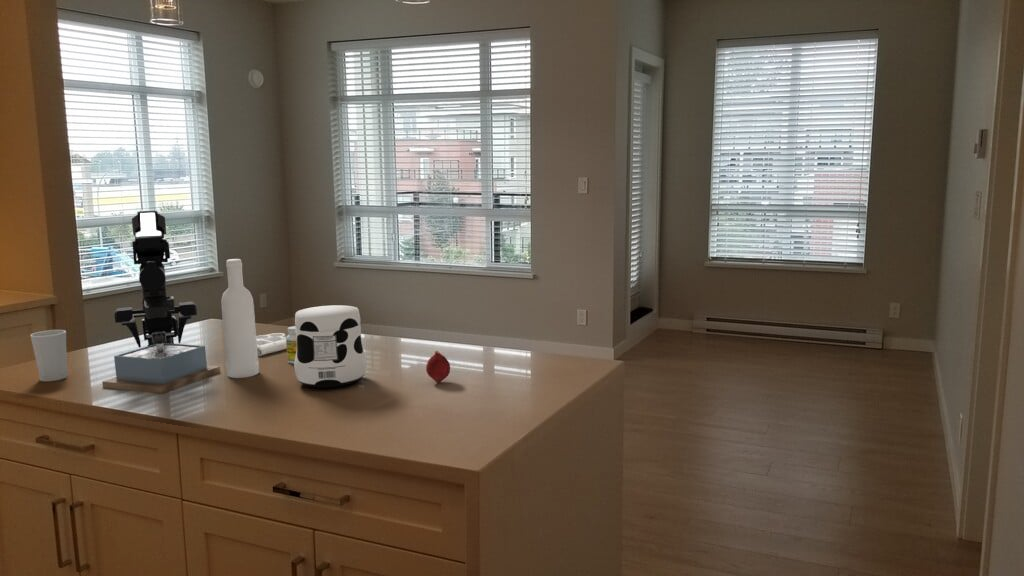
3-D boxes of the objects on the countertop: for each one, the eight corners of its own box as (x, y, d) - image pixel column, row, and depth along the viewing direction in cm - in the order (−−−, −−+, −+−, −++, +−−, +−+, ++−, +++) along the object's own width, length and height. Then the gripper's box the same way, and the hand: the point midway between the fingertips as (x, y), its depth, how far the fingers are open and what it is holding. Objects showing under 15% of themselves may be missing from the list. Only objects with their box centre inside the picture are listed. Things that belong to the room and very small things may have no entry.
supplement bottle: (311, 359, 218) (309, 325, 216) (301, 364, 213) (298, 329, 211) (294, 358, 220) (292, 324, 218) (283, 363, 215) (281, 329, 213)
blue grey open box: (156, 363, 212) (153, 342, 211) (207, 368, 206) (204, 345, 205) (109, 378, 198) (107, 355, 197) (163, 384, 192) (160, 360, 191)
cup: (55, 382, 201) (49, 336, 199) (28, 381, 203) (22, 336, 201) (78, 374, 209) (73, 330, 207) (52, 373, 210) (46, 329, 209)
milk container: (342, 369, 207) (338, 301, 204) (381, 381, 195) (377, 309, 192) (282, 383, 195) (277, 312, 192) (319, 397, 183) (314, 321, 180)
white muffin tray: (252, 360, 220) (220, 354, 228) (303, 347, 235) (271, 341, 243) (251, 348, 220) (219, 343, 228) (302, 336, 234) (270, 331, 242)
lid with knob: (160, 346, 208) (158, 326, 208) (198, 349, 204) (196, 329, 203) (121, 358, 197) (119, 336, 196) (160, 361, 192) (158, 339, 192)
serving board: (164, 366, 214) (163, 361, 214) (220, 371, 207) (219, 366, 207) (102, 387, 196) (102, 381, 196) (162, 393, 189) (161, 387, 189)
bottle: (221, 374, 205) (211, 260, 200) (249, 368, 210) (240, 256, 205) (237, 380, 199) (226, 262, 194) (265, 373, 205) (256, 259, 200)
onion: (454, 380, 194) (453, 348, 193) (445, 386, 189) (443, 354, 187) (433, 378, 196) (431, 347, 195) (422, 385, 190) (421, 352, 189)
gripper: (110, 292, 187) (117, 356, 189) (194, 285, 194) (200, 347, 197) (112, 286, 197) (119, 347, 199) (193, 279, 204) (198, 338, 207)
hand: (159, 345), depth 200 cm, fingers open, 9 cm apart
